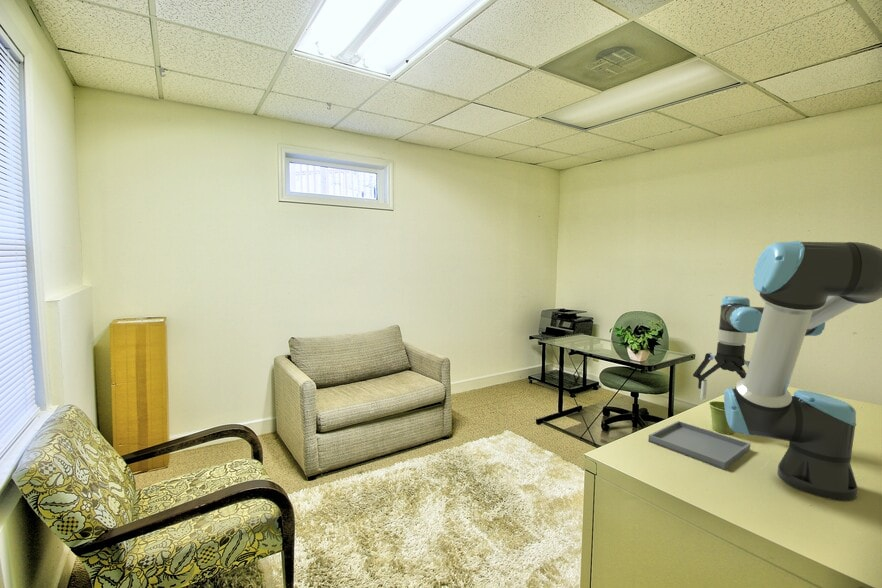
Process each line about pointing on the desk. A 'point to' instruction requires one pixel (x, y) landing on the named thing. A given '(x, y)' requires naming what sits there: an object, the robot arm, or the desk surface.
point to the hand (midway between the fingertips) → (725, 404)
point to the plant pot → (719, 418)
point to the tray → (700, 444)
